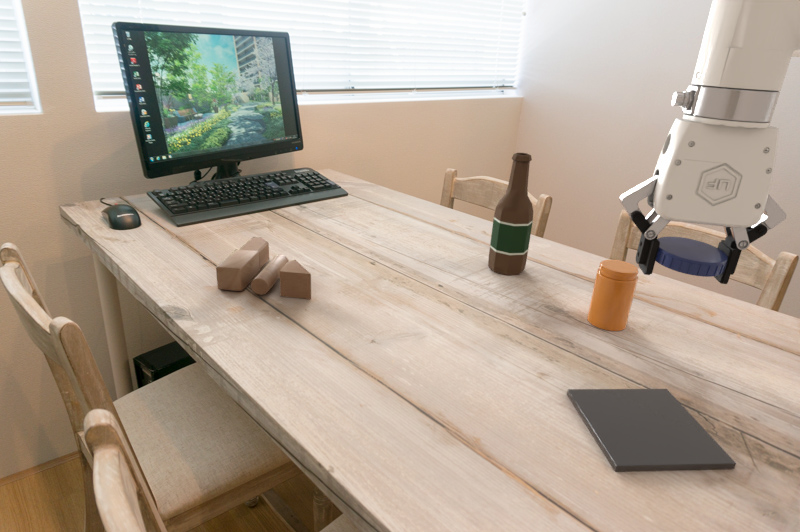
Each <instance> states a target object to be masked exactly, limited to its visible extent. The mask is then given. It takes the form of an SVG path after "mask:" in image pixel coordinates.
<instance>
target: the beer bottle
mask: <svg viewBox="0 0 800 532" xmlns="http://www.w3.org/2000/svg"><path fill="white" fill-rule="evenodd" d="M511 160H512V163H511V170H510V174H509V179H508V185H507V188H506V191H505V193H504V195H503V196H502V197H501V198H500V200H499V201H498V203H497V205H496V207H495V209H494V214H493V221H492V227H491V236H490V245H489V252H488V260H487V261H488V262H487V266H488V268H489V269H490V270H491V271H492V272H493V273H497V274H500V275H505V276H517V275H518V276H519V275H521V274H522V273H523V272H524V271H525V270H526V265H527V260H528V253H529V247H530V242H531V241H530V240H531V234H532V228H533V223H534V207H533V203H532V201H531V200H530V197H529V194H528V192H529V191H528V187H529V176H530V175H529V173H530V163H531V161H532V155H531V154H529V153H528V152H515V153H513V155H512V157H511Z"/></svg>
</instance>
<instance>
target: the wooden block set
mask: <svg viewBox="0 0 800 532" xmlns="http://www.w3.org/2000/svg"><path fill="white" fill-rule="evenodd" d="M269 245H270V244H269V242H268V240H266V239H264V238H263V237H262V236H261V237H259V236H252V237H251V238H250V239H249V240H248V241H246V242H245V244H243V245H242V246H241V247H240V248H237V249H235V250H234V251H232V252H231V253H230V254H229V255H227V256H226V257H225V258H224V259H223V260H222V261H220V262H219V263H218V264H217V265H216V267H215V270H216V271H215V272H216V283H217V290H220V291H230V292H231V291H232V292H243V291H244V290H245V289H246V288H247V287H248V285H250V289H251V291H252V292H253V293H254V294H257V295H261V296H262V295H266V294H267V293H268V292H269V291H270V290H271V288H272V287H273V286H274V285H275V284H276V283H277V281H278V280H279V294H280V297H284V298H295V299H305V300H306V299H307V300H312V274H311V272H309V271H308V270H307V269H306V268H305V267H304V266H303V265H302V264H301V263H300V262H299V261H297V260H296V259H291V260H289V258H288V257H287V256H286V255H285V254H280V253H279V254H276V255H274V256H273V257H272V259H271V260H270V246H269ZM269 260H270V261H269ZM267 262H268V263H267ZM266 263H267V264H266ZM265 264H266V265H265Z"/></svg>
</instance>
